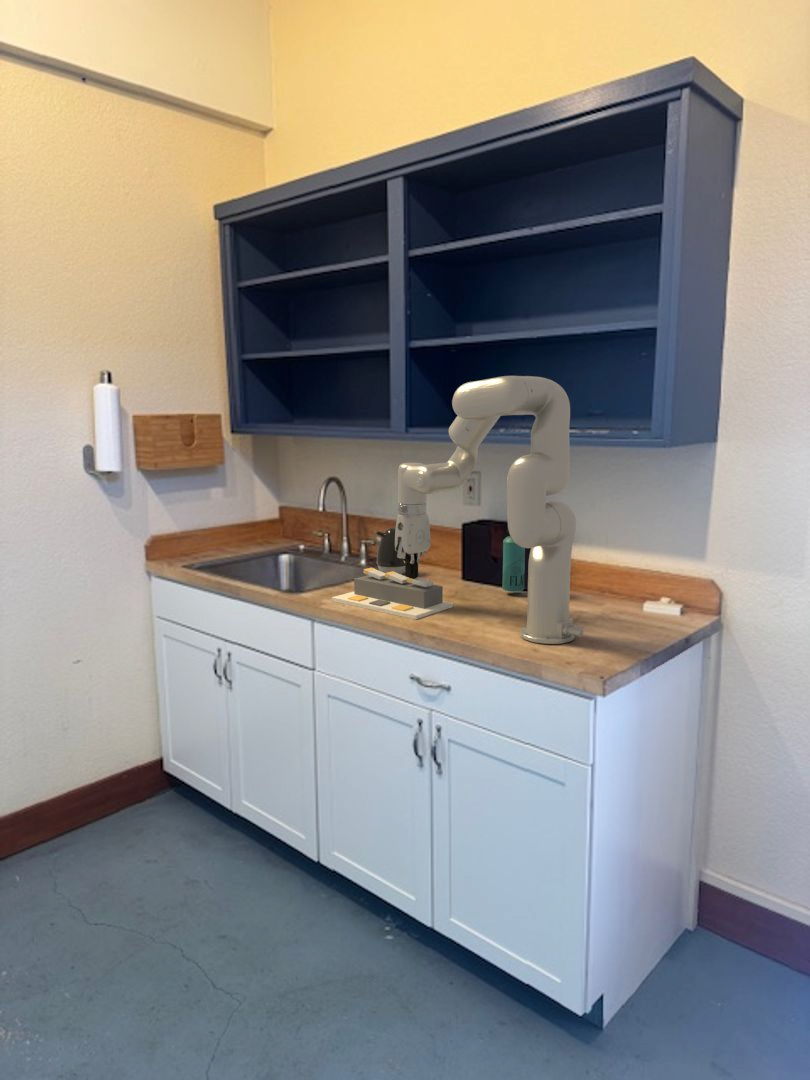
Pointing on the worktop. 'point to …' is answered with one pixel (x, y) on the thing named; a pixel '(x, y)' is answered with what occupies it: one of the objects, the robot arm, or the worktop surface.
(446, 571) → the worktop surface
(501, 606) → the worktop surface
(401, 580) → the block
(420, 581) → the plate
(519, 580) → the beverage bottle
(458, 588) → the worktop surface
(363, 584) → the switch unit
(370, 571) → the plate
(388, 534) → the black egg-shaped figure
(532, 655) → the worktop surface
